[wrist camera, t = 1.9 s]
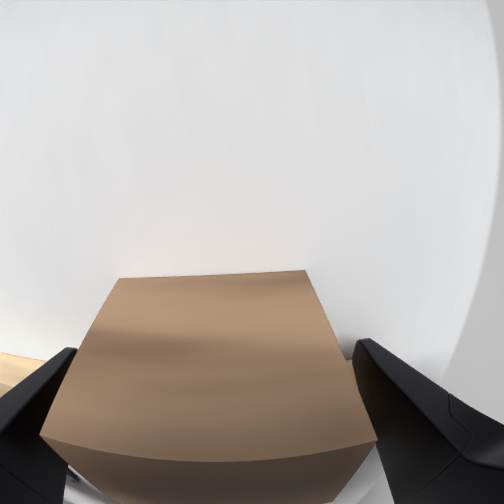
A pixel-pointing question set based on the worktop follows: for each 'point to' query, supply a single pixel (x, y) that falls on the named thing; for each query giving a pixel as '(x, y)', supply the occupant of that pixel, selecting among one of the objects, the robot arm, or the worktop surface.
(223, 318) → the brown block with rod
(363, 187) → the worktop surface
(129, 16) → the worktop surface
